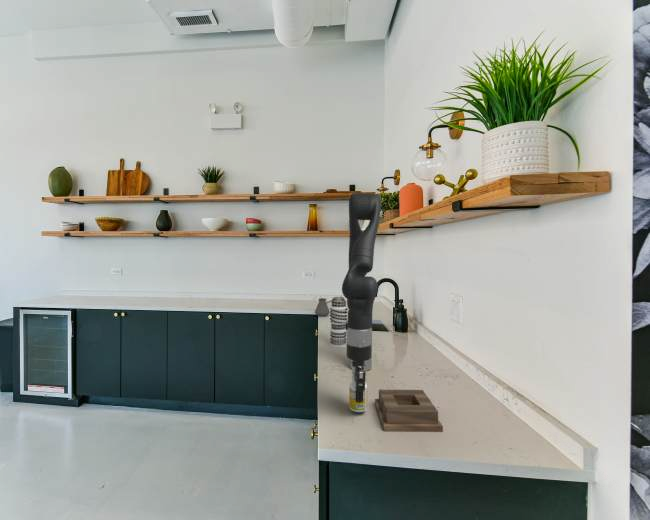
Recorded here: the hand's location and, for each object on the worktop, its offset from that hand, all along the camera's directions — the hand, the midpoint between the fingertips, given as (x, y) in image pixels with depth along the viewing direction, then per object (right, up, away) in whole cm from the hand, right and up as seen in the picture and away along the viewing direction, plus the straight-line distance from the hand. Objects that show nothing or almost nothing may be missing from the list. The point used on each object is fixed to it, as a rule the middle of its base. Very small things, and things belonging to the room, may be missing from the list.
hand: (358, 396), depth 97 cm
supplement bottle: (0, -4, 0) cm, 4 cm away
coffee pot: (-7, -1, +148) cm, 148 cm away
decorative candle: (-3, -3, +71) cm, 71 cm away
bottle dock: (+14, -5, -2) cm, 15 cm away
